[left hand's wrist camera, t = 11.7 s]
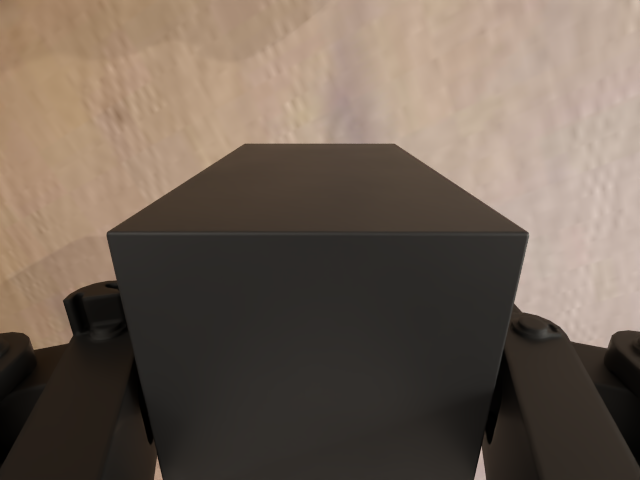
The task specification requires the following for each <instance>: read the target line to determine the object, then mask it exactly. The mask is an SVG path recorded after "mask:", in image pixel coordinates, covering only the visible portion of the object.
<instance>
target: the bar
mask: <svg viewBox="0 0 640 480" xmlns="http://www.w3.org/2000/svg"><path fill="white" fill-rule="evenodd" d="M528 239H529V233H528V232H527V231H525V230H524V229H522V228H521V227H519V226H518V225H516V224H515V223H513V222H512V221H510V220H509V219H507V218H506V217H504V216H503V215H501V214H500V213H498V212H497V211H495V210H494V209H492V208H491V207H489V206H488V205H486V204H485V203H483V202H482V201H480V200H479V199H477V198H476V197H474V196H473V195H471V194H470V193H468V192H467V191H465V190H464V189H462V188H461V187H459V186H458V185H456V184H454V183H453V182H451V181H450V180H448V179H447V178H445V177H444V176H442V175H441V174H439V173H438V172H436V171H435V170H433V169H432V168H430V167H429V166H427V165H426V164H424V163H423V162H421V161H420V160H418V159H417V158H415V157H414V156H412V155H411V154H409V153H408V152H406V151H405V150H403V149H402V148H400V147H399V146H397V145H396V144H244V145H242V146H241V147H239V148H237V149H236V150H234V151H233V152H231V153H230V154H228V155H227V156H225V157H223V158H222V159H220V160H219V161H217V162H216V163H214V164H213V165H211V166H209V167H208V168H206V169H205V170H203V171H202V172H200V173H199V174H197V175H195V176H194V177H192V178H191V179H189V180H188V181H186V182H185V183H183V184H181V185H180V186H178V187H177V188H175V189H174V190H172V191H171V192H169V193H167V194H166V195H164V196H163V197H161V198H160V199H158V200H157V201H155V202H153V203H152V204H150V205H149V206H147V207H146V208H144V209H143V210H141V211H139V212H138V213H136V214H135V215H133V216H132V217H130V218H129V219H127V220H125V221H124V222H122V223H121V224H119V225H118V226H116V227H115V228H113V229H111V230H110V231H108V232H107V240H108V244H109V249H110V253H111V257H112V262H113V266H114V270H115V274H116V279H117V283H118V287H119V292H120V296H121V300H122V305H123V309H124V313H125V318H126V322H127V326H128V331H129V335H130V339H131V344H132V348H133V352H134V357H135V361H136V365H137V370H138V374H139V378H140V383H141V387H142V391H143V396H144V400H145V404H146V409H147V413H148V417H149V422H150V426H151V430H152V435H153V439H154V443H155V448H156V452H157V456H158V461H159V465H160V469H161V474H162V478H163V480H474V477H475V473H476V468H477V464H478V459H479V455H480V451H481V446H482V442H483V437H484V433H485V428H486V424H487V420H488V415H489V411H490V406H491V402H492V398H493V393H494V389H495V384H496V380H497V375H498V371H499V367H500V362H501V358H502V353H503V349H504V345H505V340H506V336H507V331H508V327H509V322H510V318H511V314H512V309H513V305H514V300H515V296H516V292H517V287H518V283H519V278H520V274H521V269H522V265H523V261H524V256H525V252H526V247H527V243H528Z"/></svg>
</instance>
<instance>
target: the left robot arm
mask: <svg viewBox="0 0 640 480" xmlns="http://www.w3.org/2000/svg"><path fill="white" fill-rule="evenodd" d="M63 302H64V306H65V309H66V312H67V316H68V319H69V322H70V326H71V329H72V332H73V337H72V339H71V340H70V342H69V343H68V344H64V345H58V346H53V347H48V348H42V349H37V350H33V347H32V344H31V342H30V339H29V337H28V336H26V335H25V334H24V333H16V332H10V333H1V334H0V480H154V474H155V467H156V459H157V452H156V448H155V443H154V439H153V435H152V430H151V426H150V422H149V417H148V413H147V409H146V404H145V400H144V396H143V391H142V387H141V383H140V378H139V374H138V370H137V365H136V361H135V357H134V352H133V348H132V344H131V339H130V335H129V331H128V326H127V322H126V318H125V313H124V309H123V305H122V300H121V296H120V292H119V287H118V283H117V281H105V282H100V283H95V284H92V285H89V286H86V287H83V288H80V289H78V290H77V291H75V292H73V293H71V294H70V295H68V296H67V297H66V298H65V299H64V300H63ZM482 451H483V458H484V466H485V473H486V480H640V332H637V331H629V330H628V331H618V332H616V333H615V334H614V335H612V337H611V340H610V343H609V345H608V348H602V347H596V346H591V345H586V344H580V343H575V342H571V341H570V340H569V338H568V336H567V334H566V333H565V332H564V331H563V330H562V329H561V328H560V327H559V326H557V325H556V324H554V323H553V322H551V321H549V320H547V319H544V318H542V317H539V316H537V315H532V314H528V313H522V312H521V311H520V310H519V309H518V307H517V306H516V305H515V304H514V305H513V309H512V314H511V318H510V322H509V327H508V331H507V336H506V340H505V345H504V349H503V353H502V358H501V362H500V367H499V371H498V375H497V380H496V384H495V389H494V393H493V398H492V402H491V406H490V411H489V415H488V420H487V424H486V428H485V433H484V437H483V442H482Z"/></svg>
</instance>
